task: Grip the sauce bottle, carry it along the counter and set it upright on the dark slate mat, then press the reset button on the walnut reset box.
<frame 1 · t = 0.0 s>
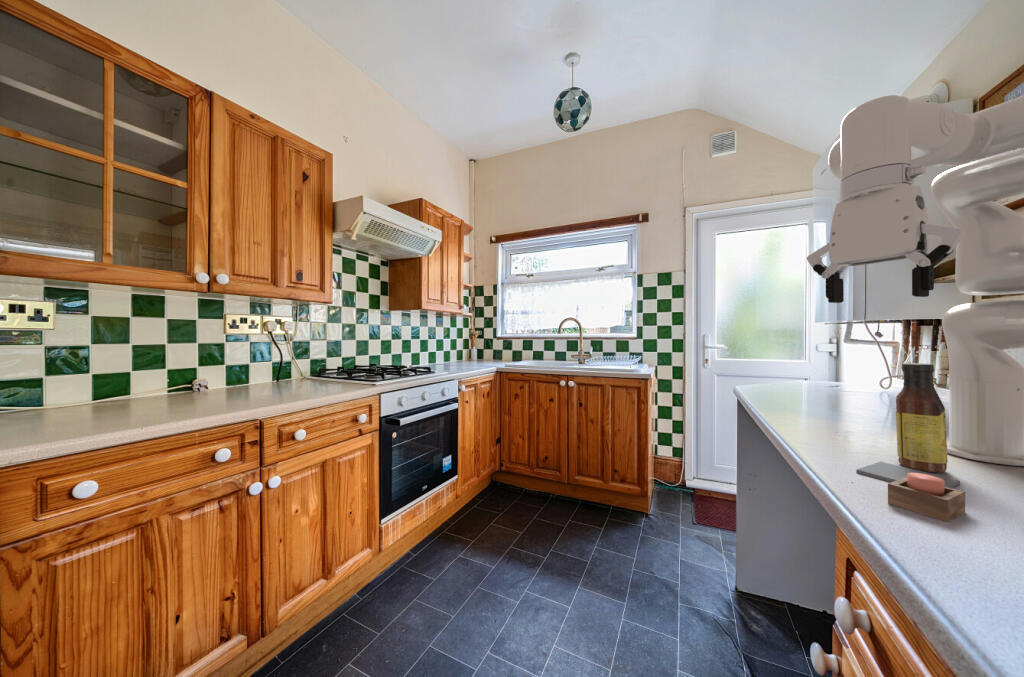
hand: (874, 299, 54), 31 cm above the countertop, tool pointing down, fingers open, 9 cm apart
sauce bottle: (920, 468, 68), on the countertop
reset button: (925, 485, 53), point 3 cm above the countertop, slide at 0.0 cm
reset box: (925, 507, 53), on the countertop
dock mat: (905, 478, 63), on the countertop
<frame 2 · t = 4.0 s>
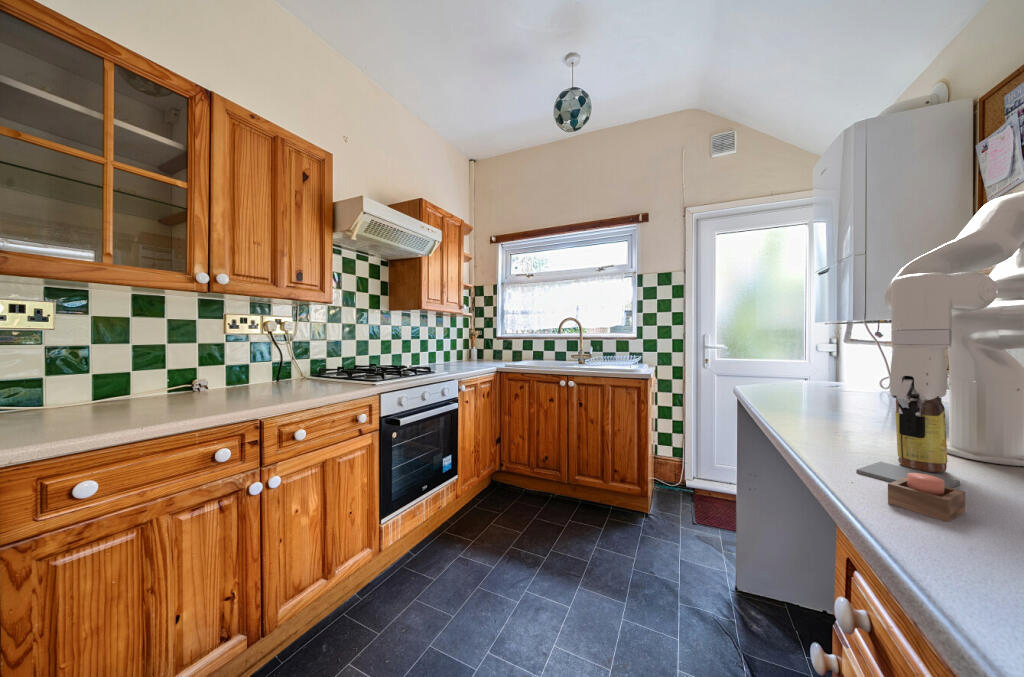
hand: (920, 432, 68), 7 cm above the countertop, tool pointing down, fingers closed on sauce bottle, 6 cm apart
sauce bottle: (920, 468, 68), on the countertop, touching gripper
everything else where it was.
when the fingers open (8 cm above the countertop, at t = 9.2 s): sauce bottle drops 1 cm, resting on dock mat.
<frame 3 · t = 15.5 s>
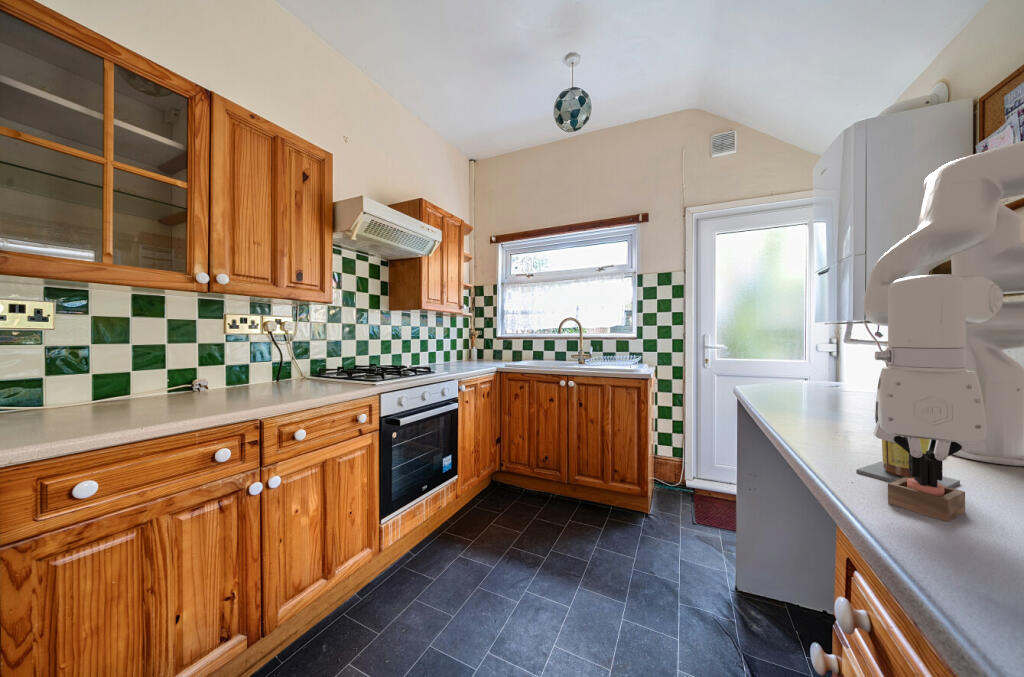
hand: (925, 482, 53), 4 cm above the countertop, tool pointing down, fingers closed
sauce bottle: (906, 475, 63), resting on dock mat
reset button: (925, 491, 53), point 2 cm above the countertop, slide at 0.8 cm, touching gripper
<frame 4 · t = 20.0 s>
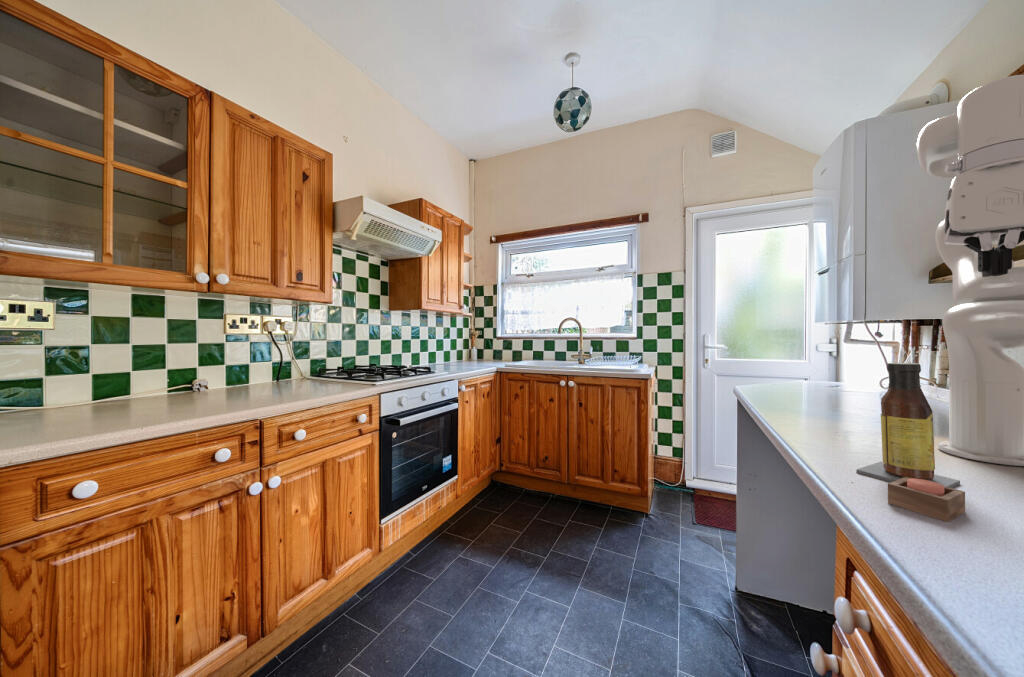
hand: (994, 275, 58), 35 cm above the countertop, tool pointing down, fingers closed
reset button: (925, 491, 53), point 2 cm above the countertop, slide at 0.9 cm
everything else where it was.
at the end: sauce bottle 0.3 cm from the target spot, resting on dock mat; sauce bottle tilted 0°; reset button slide at 0.9 cm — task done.
